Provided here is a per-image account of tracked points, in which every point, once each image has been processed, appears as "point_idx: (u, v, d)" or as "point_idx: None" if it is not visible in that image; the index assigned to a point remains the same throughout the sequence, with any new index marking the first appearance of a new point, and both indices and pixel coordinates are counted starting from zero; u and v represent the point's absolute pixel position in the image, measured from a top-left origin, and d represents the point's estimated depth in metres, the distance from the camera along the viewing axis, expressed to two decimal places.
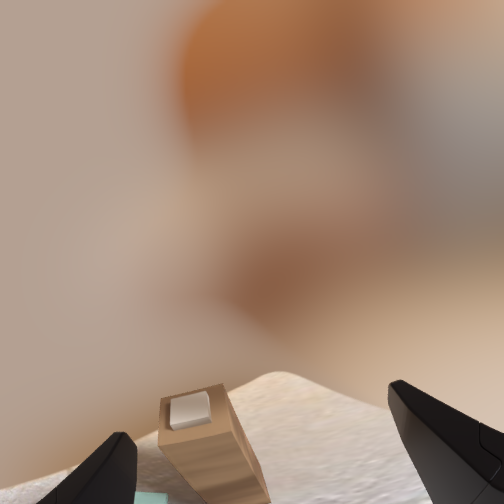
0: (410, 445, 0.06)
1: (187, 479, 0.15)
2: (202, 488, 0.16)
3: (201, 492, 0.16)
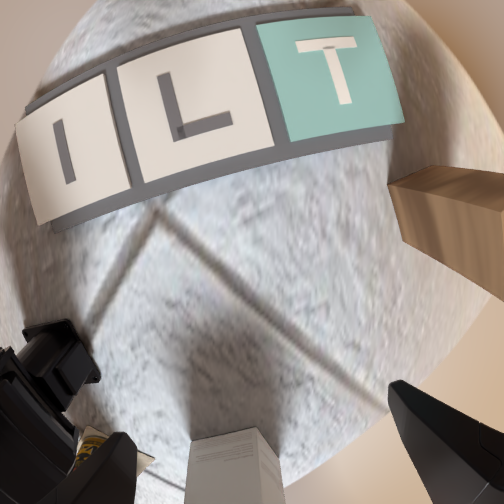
0: (410, 445, 0.06)
1: (444, 199, 0.13)
2: (430, 203, 0.15)
3: (423, 196, 0.15)
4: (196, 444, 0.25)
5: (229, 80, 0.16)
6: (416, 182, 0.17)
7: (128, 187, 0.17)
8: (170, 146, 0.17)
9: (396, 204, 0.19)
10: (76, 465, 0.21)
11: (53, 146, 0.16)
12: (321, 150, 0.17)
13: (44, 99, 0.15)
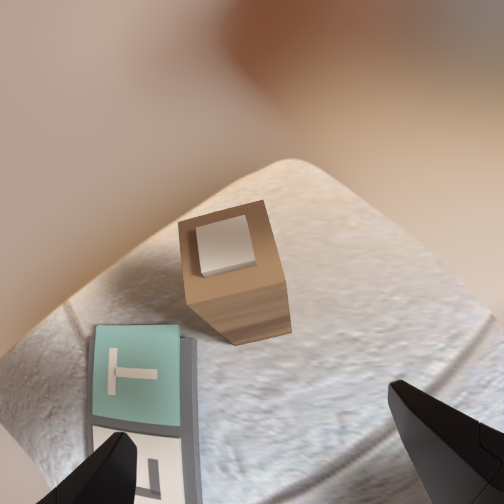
0: (410, 445, 0.06)
1: (214, 325, 0.17)
2: (228, 330, 0.18)
3: (225, 333, 0.19)
4: None
5: None
6: None
7: None
8: (163, 502, 0.16)
9: (251, 340, 0.22)
10: None
11: None
12: (191, 403, 0.20)
13: None
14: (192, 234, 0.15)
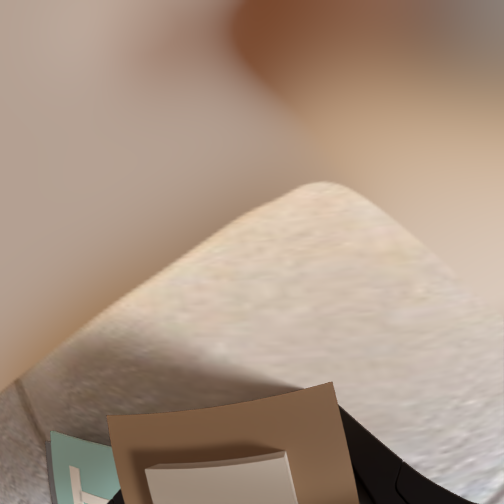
0: None
1: None
2: None
3: None
4: None
5: None
6: None
7: None
8: None
9: None
10: None
11: None
12: None
13: None
14: (142, 460, 0.04)
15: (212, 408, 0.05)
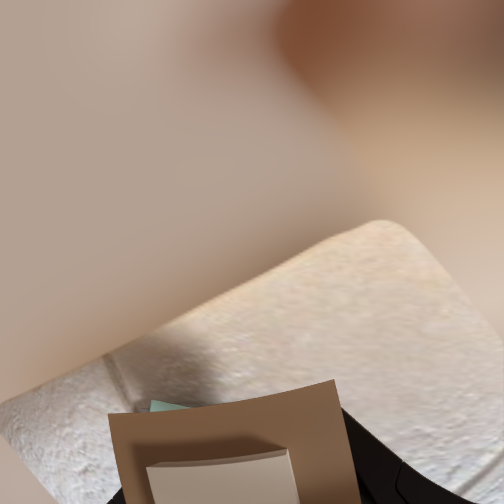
0: None
1: None
2: None
3: None
4: None
5: None
6: None
7: None
8: None
9: None
10: None
11: None
12: None
13: None
14: (144, 458, 0.05)
15: (214, 406, 0.05)
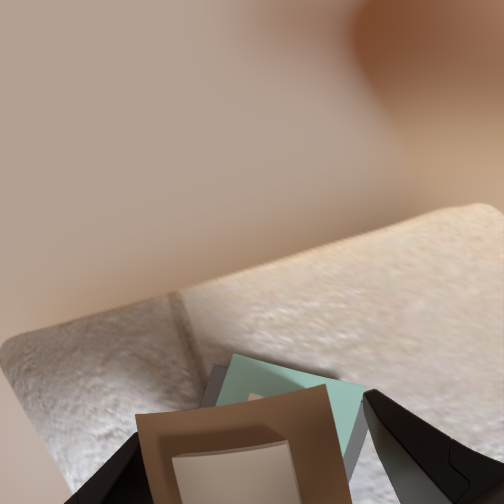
0: (383, 456, 0.07)
1: None
2: None
3: None
4: None
5: None
6: None
7: None
8: None
9: None
10: None
11: None
12: None
13: None
14: (167, 451, 0.06)
15: (227, 405, 0.06)
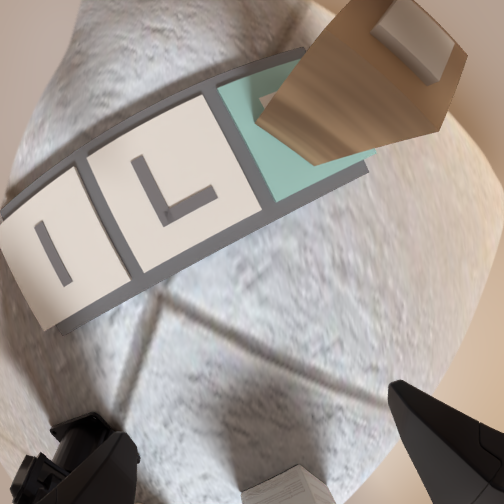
0: (410, 445, 0.06)
1: (287, 83, 0.10)
2: (286, 102, 0.12)
3: (276, 102, 0.13)
4: (246, 494, 0.23)
5: (204, 152, 0.17)
6: None
7: (128, 280, 0.17)
8: (161, 232, 0.17)
9: (276, 134, 0.17)
10: None
11: (40, 250, 0.16)
12: (306, 202, 0.19)
13: (18, 200, 0.16)
14: None
15: (428, 14, 0.07)
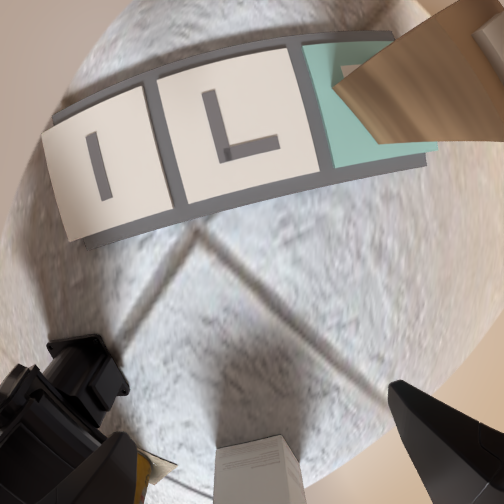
0: (410, 445, 0.06)
1: (380, 57, 0.09)
2: (372, 74, 0.11)
3: (363, 72, 0.11)
4: (221, 452, 0.26)
5: (276, 102, 0.16)
6: (357, 68, 0.13)
7: (170, 207, 0.18)
8: (216, 167, 0.17)
9: (350, 104, 0.15)
10: None
11: (86, 160, 0.16)
12: (362, 176, 0.18)
13: (74, 108, 0.16)
14: (490, 6, 0.05)
15: None
